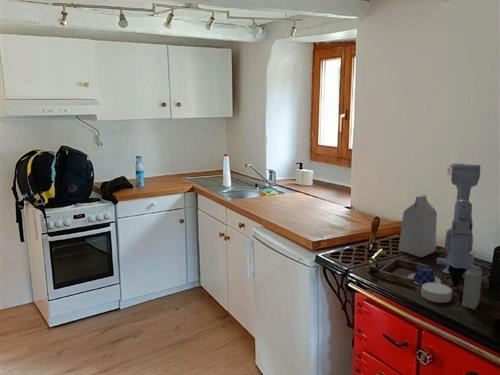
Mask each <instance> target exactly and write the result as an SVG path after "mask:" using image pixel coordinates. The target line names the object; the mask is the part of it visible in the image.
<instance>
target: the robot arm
mask: <svg viewBox="0 0 500 375" xmlns="http://www.w3.org/2000/svg"><path fill="white" fill-rule="evenodd" d="M450 177H451V179H450V180H451V184H452V185H454V186H456V190H457V193H456V194H457V195H456V201H455V204H454V211H453V212H454V213H453V220H452V221H451V227H450V228H449V229H446V233H445V237H444V238H445V240H444V249H445V250H447V254H446V255H447V256H446V257H445V258H443V257H437V258H436V265H445V268H444V269H443V270H442V273H443V274H448V275H450V276H451V277H450V278H451V280H452V281H451V282H452V287H454V288H458V287H459V285H460V282H461V280H462V278H464V279H465V273H466V272H467V271H468V269H469V268H472V269H476V270H480V271H481V269H482V268H481V266H478V265H475V264H474V261H475V260H474V259H475V258H474V256H475V255H474V254H472V253H471V252H472V251H473V243H474V237H473V236H474V235H473V217H472V216H473V215H472V214H473V212H472V211H473V204H472V203H471V201H470V196H471V190H472V188H473V187H476V186H477V185H478V184H479V181H480V177H481V165H480V164H469V163H468V164H467V163H455V162H454V163H452V166H451V176H450Z"/></svg>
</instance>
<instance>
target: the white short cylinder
mask: <svg viewBox="0 0 500 375" xmlns="http://www.w3.org/2000/svg"><path fill="white" fill-rule="evenodd" d="M420 294H421V297H423V298H424V299H425V300H427V301H429V302H433V303H440V304H441V303H442V304H443V303H449V302H450V301H451V300H452V296H453V290H452V288H451V287H450V286H448V285H446V284H443V283H434V282H430V283H425V284H423V285H421V293H420Z"/></svg>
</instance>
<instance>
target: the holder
mask: <svg viewBox="0 0 500 375" xmlns="http://www.w3.org/2000/svg"><path fill="white" fill-rule="evenodd" d="M396 266H399V267H403V268H406V269H411V270H414V271H416V270H417V268H418V267H419V266H427V267H430V268H431V266H430V265H427V264H424V263H419V262H414V261H410V260H407V259H403V258H398V257H395V258H394V259H392V260H390V261H389V262H388V263H387V264H384V266H383V267H381V268H380V269H379V270H377V278H379V279H382V280H385V281H390V282H393V283H396V284H399V285H400V284H401V285H404V286H408V287H410V288H414V287H415V283H414V279H411V278H408V276H407V277H406V276H403V275H400V274H396V273H391V271H392V269H394V268H396Z"/></svg>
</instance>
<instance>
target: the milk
mask: <svg viewBox="0 0 500 375" xmlns="http://www.w3.org/2000/svg"><path fill="white" fill-rule="evenodd" d="M436 210H437V209H435V208H434V206H433V205H431V203H430V202H429V201H428V199H427V194H421V195H417V196H416V197H415V201H414V203H412V204H411V205H410V206H409V207H407V208H406V209H405V210H404V211H403V214H402V220H401V228H400V235H399V242H398V249H397V250H398V251H399V252H403V253H407V254H409V255H413V256H417V257H420V258H423V257H425V256H427V255H430V254H433V253H434V252H436V247H437V246H436V245H437V244H436V243H437V242H436V240H437V217H438V214H437V213H438V212H437V211H436Z"/></svg>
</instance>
